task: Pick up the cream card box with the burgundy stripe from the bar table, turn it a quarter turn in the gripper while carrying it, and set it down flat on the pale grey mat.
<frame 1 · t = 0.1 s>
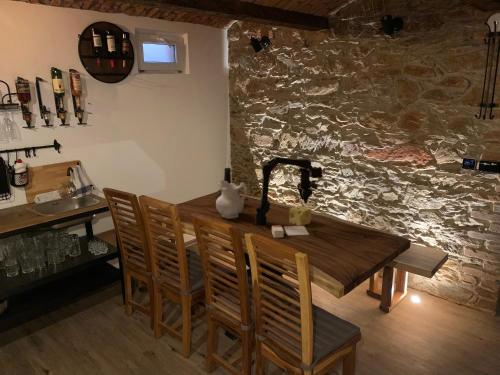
hand: (304, 201, 255), 15 cm above the table, tool pointing down, fingers open, 9 cm apart
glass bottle: (227, 204, 294), on the table
card box: (277, 235, 237), on the table
cheese: (299, 223, 258), on the table
grey mat: (296, 231, 243), on the table
ceramic pitcher: (231, 216, 270), on the table
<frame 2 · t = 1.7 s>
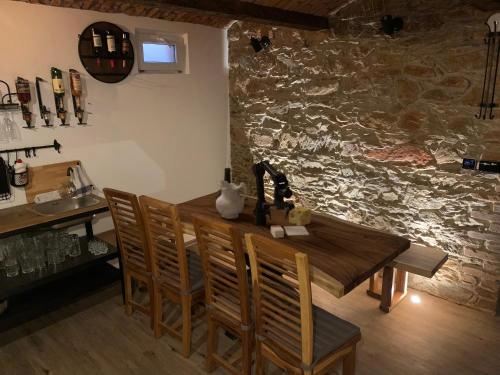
hand: (278, 219, 235), 10 cm above the table, tool pointing down, fingers open, 9 cm apart
nothing on the table moved.
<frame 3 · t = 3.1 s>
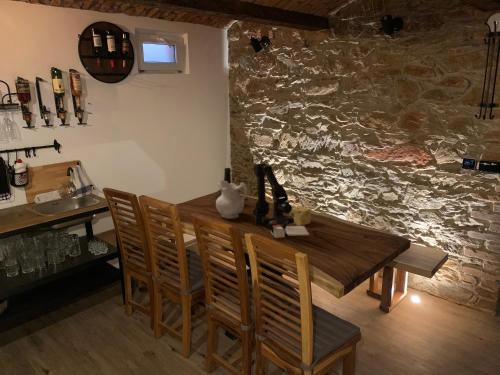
hand: (277, 233, 237), 1 cm above the table, tool pointing down, fingers closed on card box, 6 cm apart
card box: (277, 235, 237), on the table, touching gripper
everything else where it was.
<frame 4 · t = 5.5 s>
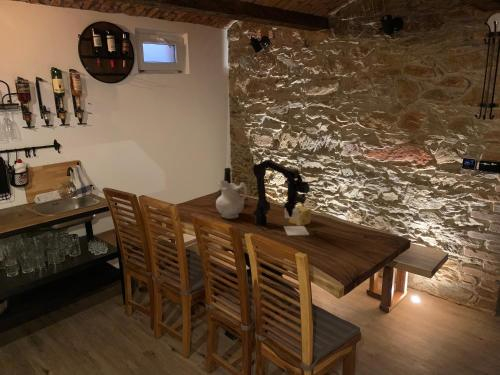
hand: (291, 215, 238), 11 cm above the table, tool pointing down, fingers closed on card box, 6 cm apart
card box: (291, 216, 239), point 10 cm above the table, touching gripper
everything else where it was.
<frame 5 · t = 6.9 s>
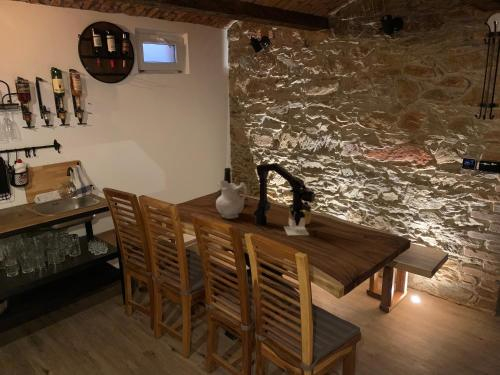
hand: (296, 223, 242), 5 cm above the table, tool pointing down, fingers closed on card box, 6 cm apart
card box: (296, 225, 243), point 4 cm above the table, touching gripper
everything else where it was.
when the fingers open (3 cm above the table, at t = 7.7 s): card box drops 2 cm, resting on grey mat.
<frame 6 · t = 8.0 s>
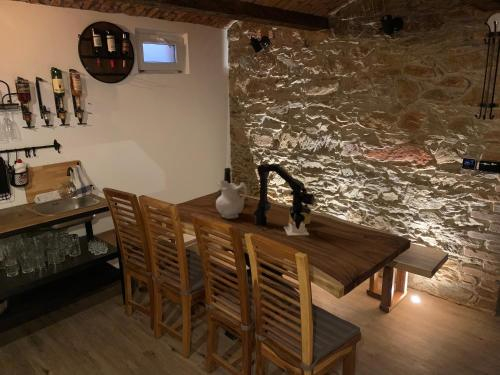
hand: (296, 226, 243), 3 cm above the table, tool pointing down, fingers open, 9 cm apart
card box: (296, 230, 243), point 1 cm above the table, touching grey mat
everything else where it was.
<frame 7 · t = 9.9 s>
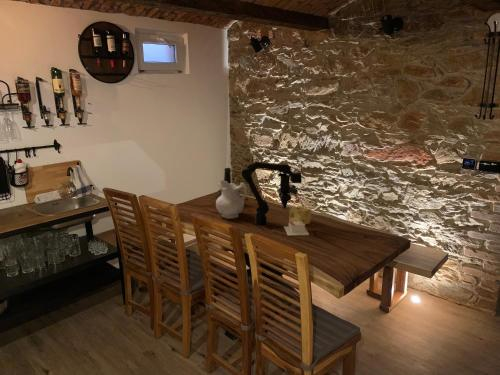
hand: (283, 206, 254), 12 cm above the table, tool pointing down, fingers open, 9 cm apart
nothing on the table moved.
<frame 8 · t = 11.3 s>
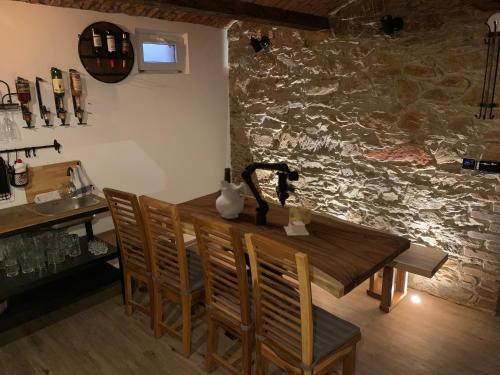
hand: (281, 204, 256), 12 cm above the table, tool pointing down, fingers open, 9 cm apart
nothing on the table moved.
at the end: card box inside the target area on the grey mat (0.2 cm from its centre), point 0.6 cm above the grey mat's base; card box tilted 0°; the gripper is holding nothing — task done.
